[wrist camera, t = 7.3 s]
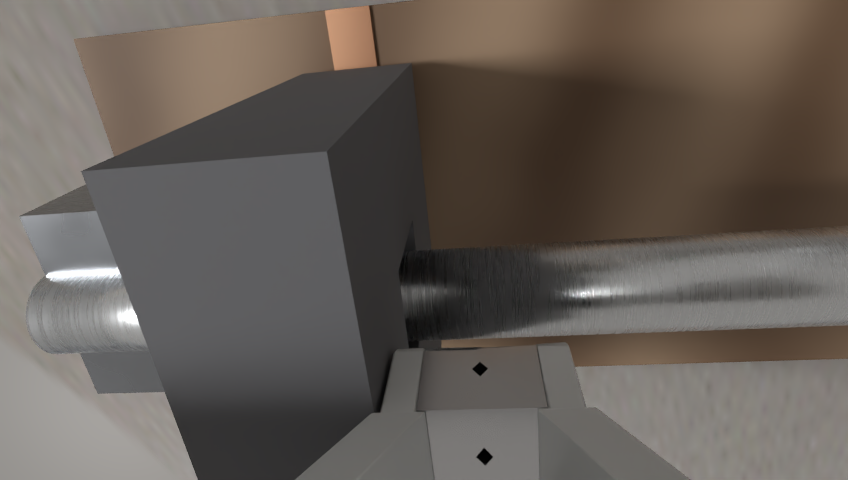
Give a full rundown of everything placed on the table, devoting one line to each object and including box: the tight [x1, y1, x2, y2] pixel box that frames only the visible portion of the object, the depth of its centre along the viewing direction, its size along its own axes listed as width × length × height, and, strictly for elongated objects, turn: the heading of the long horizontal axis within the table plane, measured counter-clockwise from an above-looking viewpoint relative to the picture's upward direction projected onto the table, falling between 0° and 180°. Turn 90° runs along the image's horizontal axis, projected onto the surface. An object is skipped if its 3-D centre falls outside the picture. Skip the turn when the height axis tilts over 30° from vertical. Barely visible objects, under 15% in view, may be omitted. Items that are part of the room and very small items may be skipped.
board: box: [74, 0, 848, 367], centre depth 16 cm, size 28×12×1 cm, turn 96°
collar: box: [81, 63, 442, 480], centre depth 12 cm, size 3×9×9 cm, turn 6°
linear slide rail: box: [19, 185, 848, 394], centre depth 13 cm, size 26×5×6 cm, turn 96°
